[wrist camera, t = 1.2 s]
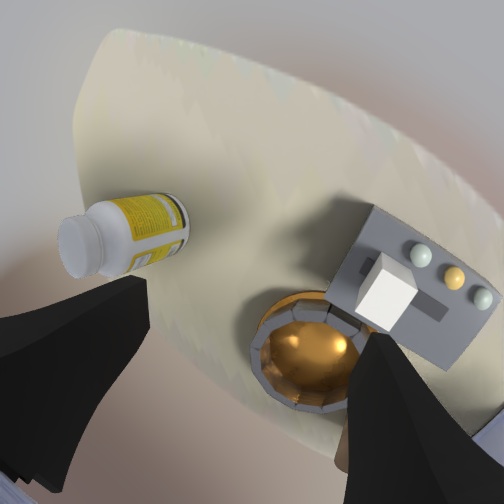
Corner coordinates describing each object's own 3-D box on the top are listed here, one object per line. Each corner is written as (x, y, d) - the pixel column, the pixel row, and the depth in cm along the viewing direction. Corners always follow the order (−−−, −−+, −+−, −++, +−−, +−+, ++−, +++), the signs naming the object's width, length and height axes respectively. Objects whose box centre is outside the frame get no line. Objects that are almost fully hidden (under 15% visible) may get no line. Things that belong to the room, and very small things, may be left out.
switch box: (488, 280, 14) (506, 300, 11) (440, 348, 17) (447, 376, 13) (374, 204, 17) (373, 209, 14) (331, 281, 19) (320, 301, 16)
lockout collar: (407, 335, 18) (409, 352, 16) (334, 414, 22) (328, 432, 19) (291, 265, 20) (280, 275, 18) (240, 358, 24) (227, 372, 22)
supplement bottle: (148, 187, 24) (53, 198, 15) (196, 200, 22) (94, 218, 14) (142, 243, 26) (54, 271, 17) (187, 263, 24) (95, 304, 15)
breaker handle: (411, 269, 14) (417, 290, 11) (388, 304, 15) (388, 331, 12) (381, 251, 14) (382, 268, 12) (359, 287, 15) (354, 311, 12)
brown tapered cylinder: (405, 414, 19) (403, 457, 14) (373, 440, 21) (365, 480, 16) (366, 393, 20) (358, 437, 16) (336, 422, 22) (323, 462, 17)
